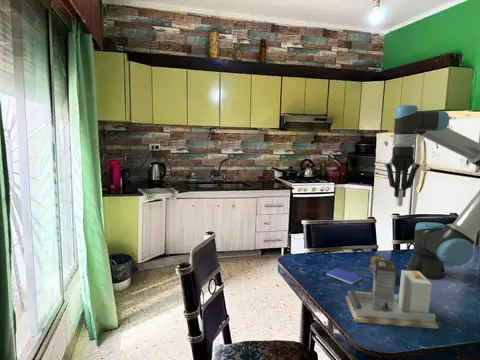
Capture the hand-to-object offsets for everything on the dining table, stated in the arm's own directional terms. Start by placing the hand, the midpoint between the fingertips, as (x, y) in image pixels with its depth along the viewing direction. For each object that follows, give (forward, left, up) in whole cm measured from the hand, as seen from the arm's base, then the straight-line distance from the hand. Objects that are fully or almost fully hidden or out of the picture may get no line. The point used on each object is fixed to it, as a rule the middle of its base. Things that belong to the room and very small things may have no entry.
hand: (399, 205), depth 135 cm
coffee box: (+11, +23, -32) cm, 41 cm away
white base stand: (+8, +23, -33) cm, 41 cm away
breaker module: (+1, +23, -32) cm, 39 cm away
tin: (+2, -7, -34) cm, 35 cm away
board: (+8, +23, -34) cm, 42 cm away
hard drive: (+18, -5, -35) cm, 40 cm away
